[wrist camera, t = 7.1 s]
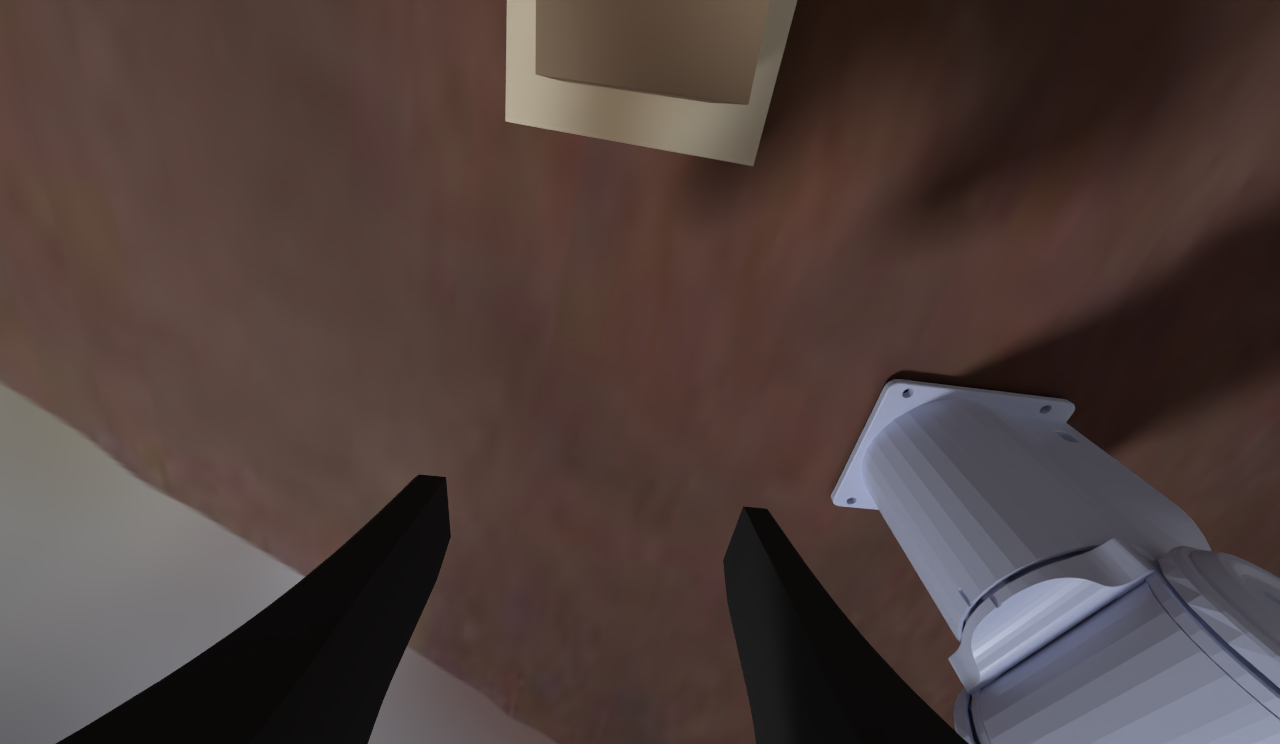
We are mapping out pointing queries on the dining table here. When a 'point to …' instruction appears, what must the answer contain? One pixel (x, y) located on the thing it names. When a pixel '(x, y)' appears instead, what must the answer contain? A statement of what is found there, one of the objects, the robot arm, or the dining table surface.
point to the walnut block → (653, 46)
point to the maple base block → (642, 99)
